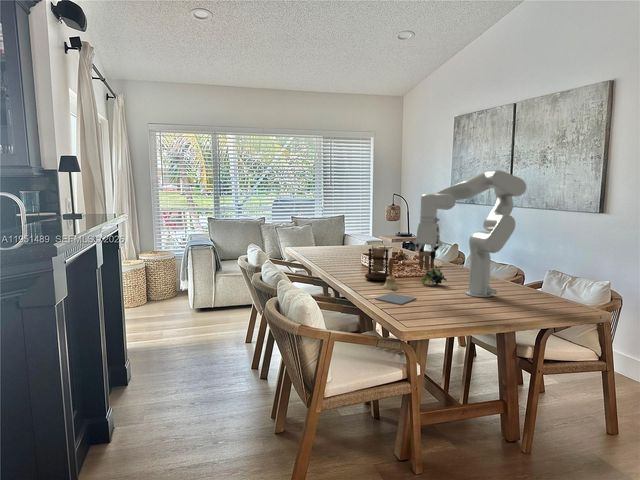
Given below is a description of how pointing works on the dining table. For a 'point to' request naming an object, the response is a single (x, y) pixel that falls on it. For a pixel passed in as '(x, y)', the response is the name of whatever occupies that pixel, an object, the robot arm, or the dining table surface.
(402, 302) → the slate mat
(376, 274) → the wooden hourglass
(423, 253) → the walnut stool
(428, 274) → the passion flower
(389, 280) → the hand bell
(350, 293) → the dining table surface
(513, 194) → the robot arm
